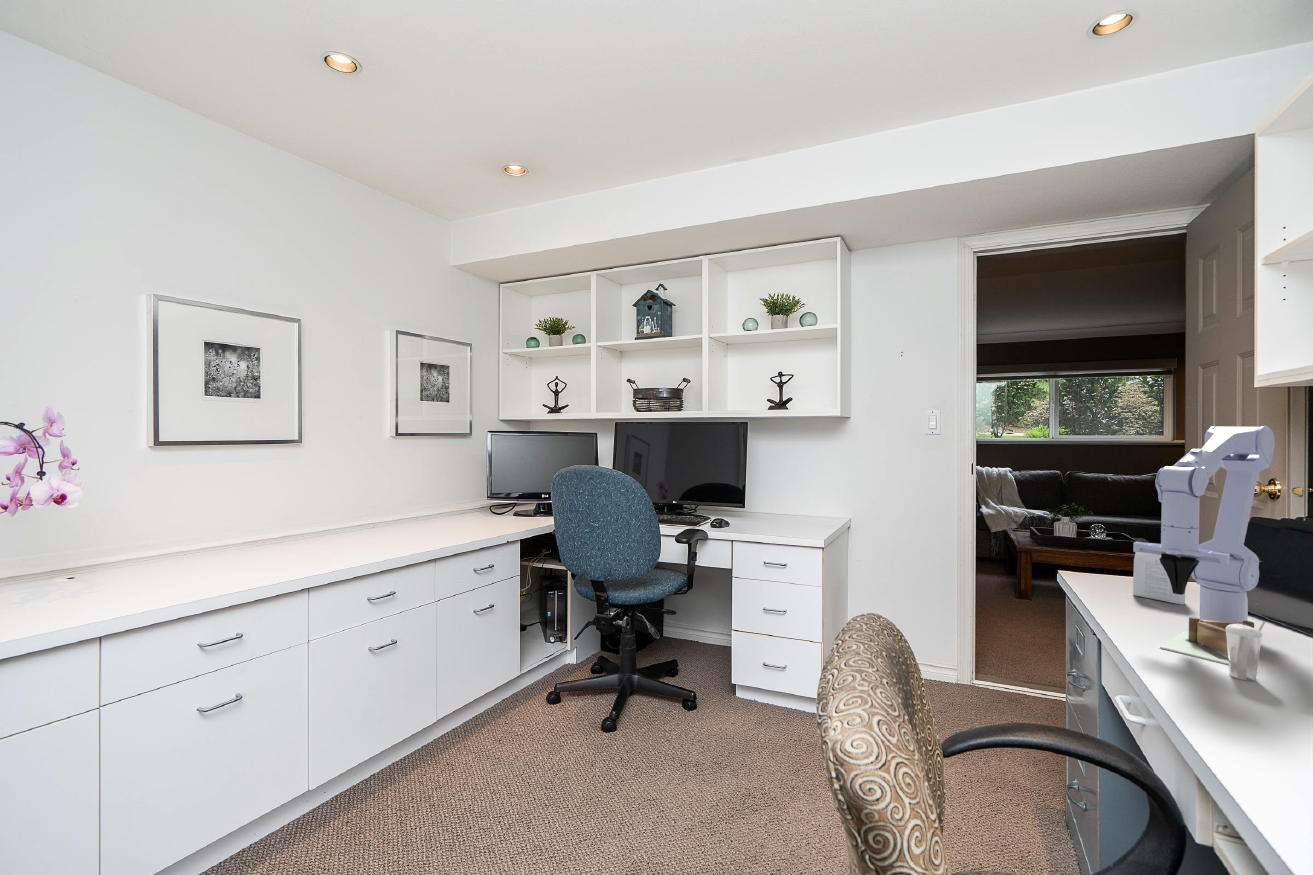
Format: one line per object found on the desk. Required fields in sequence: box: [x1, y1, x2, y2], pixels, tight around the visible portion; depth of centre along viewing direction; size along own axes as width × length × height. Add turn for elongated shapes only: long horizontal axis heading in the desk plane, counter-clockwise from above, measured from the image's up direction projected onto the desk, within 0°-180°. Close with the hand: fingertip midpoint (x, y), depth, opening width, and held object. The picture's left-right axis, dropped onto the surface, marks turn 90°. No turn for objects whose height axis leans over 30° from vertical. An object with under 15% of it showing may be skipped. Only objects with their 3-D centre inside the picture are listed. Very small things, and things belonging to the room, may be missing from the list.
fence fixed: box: [1188, 616, 1255, 643], centre depth 118 cm, size 2×10×5 cm, turn 75°
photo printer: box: [1132, 552, 1186, 605], centre depth 149 cm, size 10×4×12 cm, turn 35°
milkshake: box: [1225, 621, 1266, 682], centre depth 103 cm, size 4×5×10 cm
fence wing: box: [1197, 622, 1228, 654], centre depth 114 cm, size 8×1×4 cm, turn 3°
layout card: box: [1159, 630, 1229, 666], centre depth 117 cm, size 16×11×1 cm
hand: (1178, 593), depth 120 cm, fingers closed
